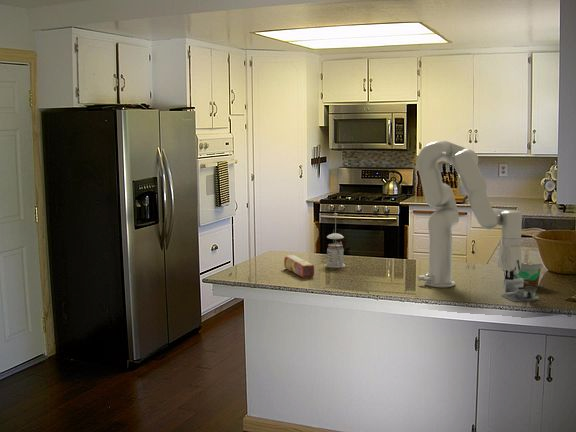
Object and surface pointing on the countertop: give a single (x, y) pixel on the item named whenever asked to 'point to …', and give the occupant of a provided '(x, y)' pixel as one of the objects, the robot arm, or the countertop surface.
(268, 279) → the countertop surface
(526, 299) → the gauge body
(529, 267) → the food container
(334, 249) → the french press
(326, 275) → the countertop surface
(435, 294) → the countertop surface
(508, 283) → the grey boxy piece
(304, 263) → the snack package
